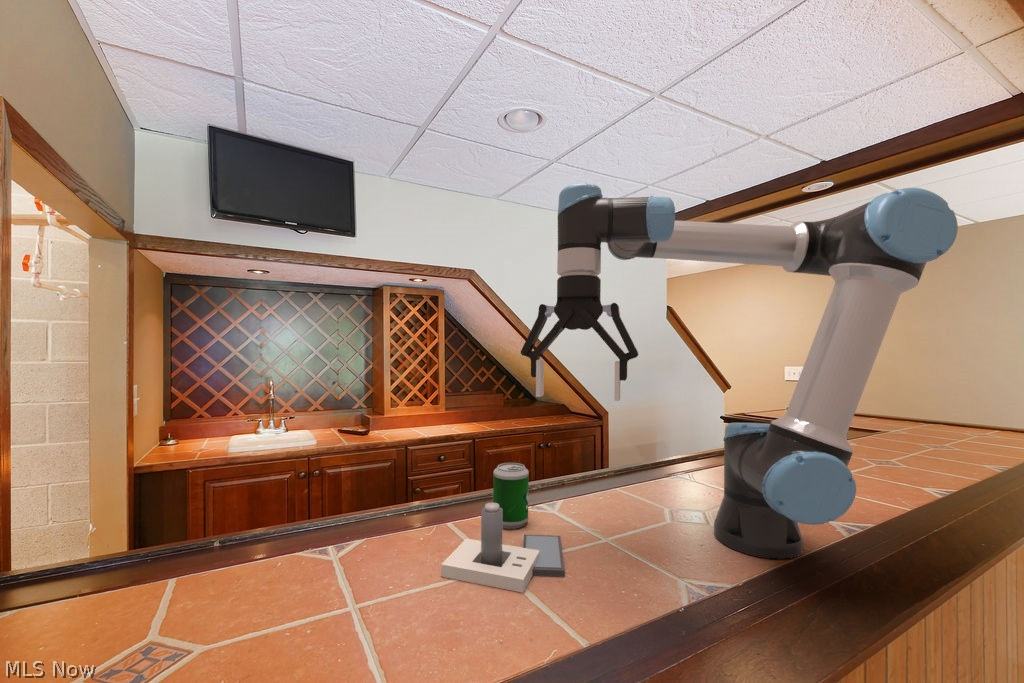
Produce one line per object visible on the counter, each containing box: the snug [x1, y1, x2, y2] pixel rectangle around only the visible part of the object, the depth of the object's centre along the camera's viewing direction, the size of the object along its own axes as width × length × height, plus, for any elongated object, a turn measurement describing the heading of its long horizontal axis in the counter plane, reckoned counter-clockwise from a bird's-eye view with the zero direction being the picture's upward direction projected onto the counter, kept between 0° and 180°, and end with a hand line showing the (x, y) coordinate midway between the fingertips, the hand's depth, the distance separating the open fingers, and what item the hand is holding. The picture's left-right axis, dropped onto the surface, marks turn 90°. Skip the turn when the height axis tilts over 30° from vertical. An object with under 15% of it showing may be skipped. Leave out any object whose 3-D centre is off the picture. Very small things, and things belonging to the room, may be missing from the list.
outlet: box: [440, 538, 540, 594], centre depth 74 cm, size 14×10×2 cm
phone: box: [522, 534, 565, 578], centre depth 79 cm, size 7×13×1 cm, turn 177°
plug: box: [480, 502, 504, 567], centre depth 74 cm, size 4×4×11 cm
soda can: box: [492, 462, 530, 530], centre depth 93 cm, size 8×8×12 cm
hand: (577, 398), depth 77 cm, fingers open, 13 cm apart
